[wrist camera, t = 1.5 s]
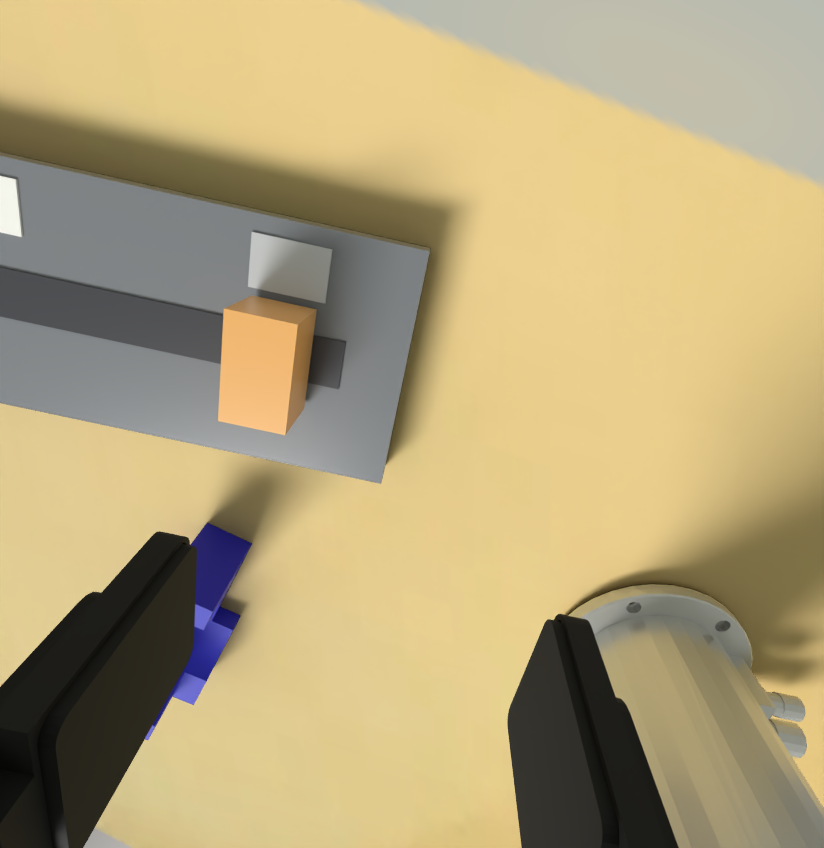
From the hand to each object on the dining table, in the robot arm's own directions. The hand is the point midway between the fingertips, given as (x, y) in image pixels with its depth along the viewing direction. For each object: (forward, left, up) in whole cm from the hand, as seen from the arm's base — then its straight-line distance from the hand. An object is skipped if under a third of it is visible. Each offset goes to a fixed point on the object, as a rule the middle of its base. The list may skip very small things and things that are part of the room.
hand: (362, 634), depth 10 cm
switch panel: (+13, 0, -18) cm, 22 cm away
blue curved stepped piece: (+10, +19, -18) cm, 28 cm away
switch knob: (+6, 0, -15) cm, 17 cm away
